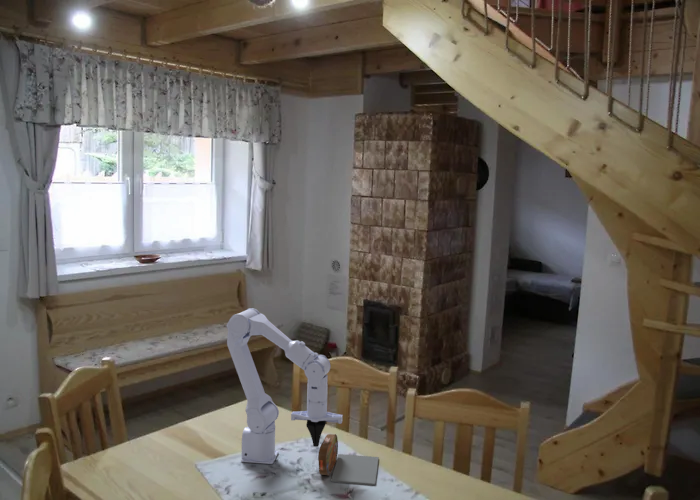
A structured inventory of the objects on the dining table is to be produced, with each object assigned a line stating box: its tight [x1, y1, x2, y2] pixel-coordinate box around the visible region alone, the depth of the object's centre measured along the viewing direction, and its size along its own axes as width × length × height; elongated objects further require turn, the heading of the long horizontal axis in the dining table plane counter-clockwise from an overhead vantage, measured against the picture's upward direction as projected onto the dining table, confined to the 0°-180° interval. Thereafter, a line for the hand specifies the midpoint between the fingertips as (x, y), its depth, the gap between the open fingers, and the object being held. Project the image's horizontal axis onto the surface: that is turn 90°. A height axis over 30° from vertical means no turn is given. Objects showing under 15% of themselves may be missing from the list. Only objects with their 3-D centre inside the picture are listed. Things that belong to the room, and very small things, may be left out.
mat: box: [330, 453, 380, 486], centre depth 171 cm, size 12×16×1 cm
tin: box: [317, 433, 339, 476], centre depth 171 cm, size 15×3×8 cm, turn 169°
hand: (316, 445), depth 171 cm, fingers closed
